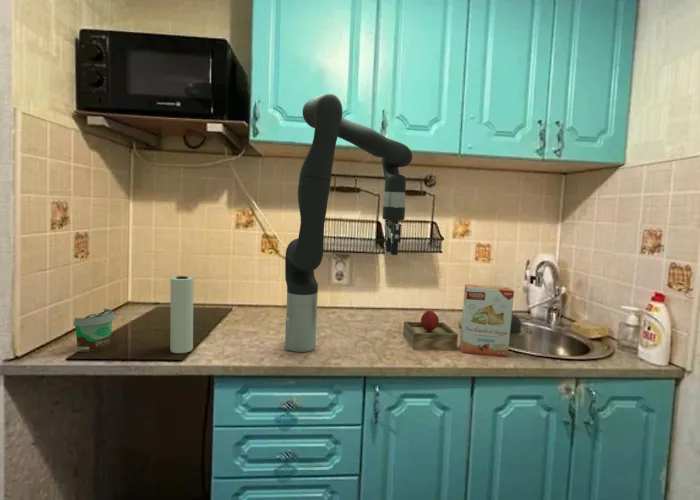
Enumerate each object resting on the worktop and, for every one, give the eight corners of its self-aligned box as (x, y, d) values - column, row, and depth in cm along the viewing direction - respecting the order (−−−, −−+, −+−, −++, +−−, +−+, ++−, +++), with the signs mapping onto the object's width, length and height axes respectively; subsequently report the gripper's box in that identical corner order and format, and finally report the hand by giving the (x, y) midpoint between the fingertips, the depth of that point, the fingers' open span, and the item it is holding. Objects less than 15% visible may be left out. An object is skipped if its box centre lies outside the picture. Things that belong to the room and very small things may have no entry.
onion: (427, 335, 138) (428, 311, 137) (416, 330, 143) (417, 307, 142) (441, 333, 141) (443, 309, 140) (430, 329, 146) (431, 305, 145)
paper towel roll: (187, 354, 121) (188, 279, 119) (166, 353, 122) (166, 278, 119) (197, 346, 129) (198, 275, 126) (177, 345, 129) (177, 274, 127)
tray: (413, 349, 135) (414, 333, 134) (403, 335, 149) (403, 321, 148) (456, 349, 136) (457, 334, 136) (442, 336, 150) (443, 322, 150)
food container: (93, 356, 117) (93, 320, 116) (73, 354, 118) (73, 318, 117) (124, 342, 129) (124, 309, 128) (106, 340, 130) (105, 308, 129)
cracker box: (461, 353, 133) (466, 286, 131) (459, 347, 139) (464, 283, 137) (508, 357, 131) (514, 290, 129) (504, 351, 137) (510, 286, 135)
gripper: (379, 205, 153) (377, 250, 155) (387, 205, 139) (384, 255, 141) (400, 206, 154) (397, 251, 156) (410, 206, 140) (407, 256, 141)
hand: (391, 253), depth 148 cm, fingers open, 8 cm apart
